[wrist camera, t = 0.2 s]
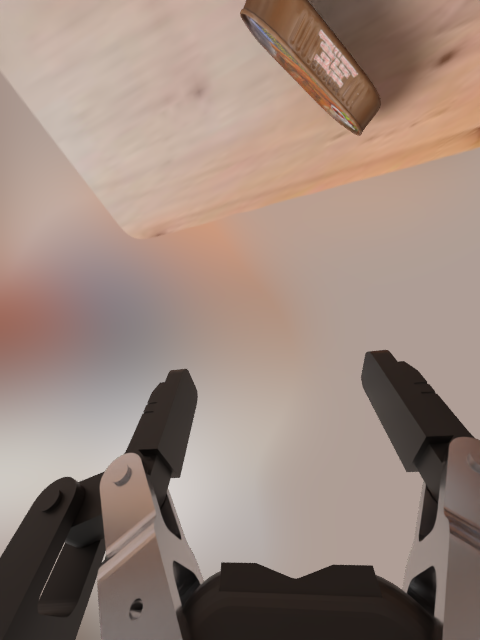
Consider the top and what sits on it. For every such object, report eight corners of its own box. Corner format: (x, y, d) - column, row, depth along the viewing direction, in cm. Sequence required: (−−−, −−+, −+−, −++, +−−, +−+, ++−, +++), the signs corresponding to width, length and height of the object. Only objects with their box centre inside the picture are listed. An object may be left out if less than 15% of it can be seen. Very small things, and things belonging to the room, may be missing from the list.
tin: (236, 19, 21) (240, 17, 16) (255, -35, 19) (267, -58, 13) (340, 127, 27) (367, 150, 22) (363, 96, 25) (398, 114, 20)
